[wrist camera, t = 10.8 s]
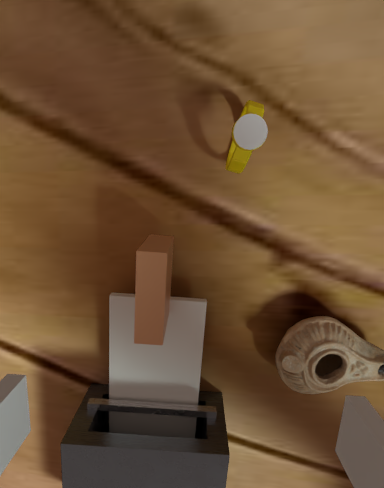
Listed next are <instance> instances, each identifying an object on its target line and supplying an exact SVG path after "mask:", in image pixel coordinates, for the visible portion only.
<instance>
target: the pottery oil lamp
mask: <svg viewBox="0 0 384 488" xmlns="http://www.w3.org/2000/svg"><path fill="white" fill-rule="evenodd" d="M275 361H276V366H277V369H278V373H279V375H280V378H281V379H282V380H283V381H284V383H285V384H286V385H287V386H288V387H289V388H290V389H292V390H294V391H296V392H299V393H303V394H319V393H326V392H330V391H332V390H336V389H338V388H339V387H341V386H343V385H345V384H348V383H352V382H358V381H384V350H382V349H380V348H379V347H377V346H375V345H373V344H371V343H369V342H367V341H365V340H364V339H362V338H360V337H359V336H358V335H357V334H355V333H354V332H353V331H352V330H351V329H349V328H348V327H347V326H345V325H344V324H343V323H341V322H340V321H338V320H336V319H334V318H332V317H329V316H316V317H311V318H307V319H303V320H301V321H299V322H297V323H296V324H295V325H293V326H292V327H290V328H289V329H288V330H287V332H286V333H285V335H284V336H283V338H282V340H281V342H280V344H279V346H278V348H277V351H276V354H275Z"/></svg>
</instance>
